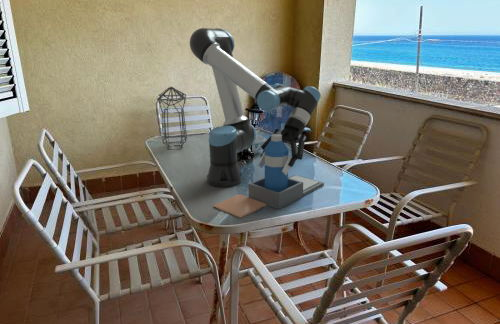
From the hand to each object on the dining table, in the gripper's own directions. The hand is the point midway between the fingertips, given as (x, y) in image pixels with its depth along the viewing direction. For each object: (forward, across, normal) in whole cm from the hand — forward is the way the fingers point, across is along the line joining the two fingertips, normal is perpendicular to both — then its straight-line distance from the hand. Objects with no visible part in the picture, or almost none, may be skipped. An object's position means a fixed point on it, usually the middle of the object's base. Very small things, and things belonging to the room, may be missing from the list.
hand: (271, 169), depth 135 cm
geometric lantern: (-5, +88, -23) cm, 91 cm away
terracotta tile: (+17, +5, 0) cm, 18 cm away
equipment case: (+1, 0, -16) cm, 16 cm away
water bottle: (+7, 0, -11) cm, 13 cm away
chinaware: (-21, +48, -38) cm, 65 cm away
